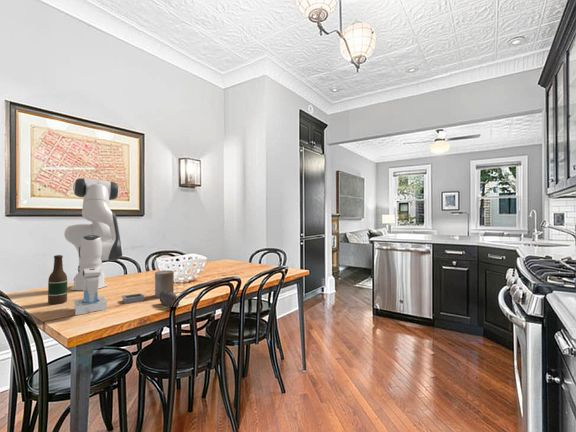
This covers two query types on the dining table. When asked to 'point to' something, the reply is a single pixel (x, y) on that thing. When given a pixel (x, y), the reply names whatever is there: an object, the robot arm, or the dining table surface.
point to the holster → (132, 298)
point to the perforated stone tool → (167, 298)
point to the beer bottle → (57, 283)
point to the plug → (86, 297)
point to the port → (89, 306)
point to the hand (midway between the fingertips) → (90, 299)
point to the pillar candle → (164, 282)
